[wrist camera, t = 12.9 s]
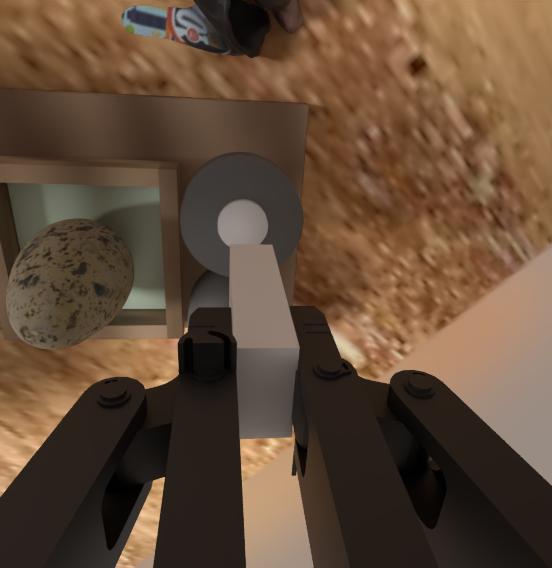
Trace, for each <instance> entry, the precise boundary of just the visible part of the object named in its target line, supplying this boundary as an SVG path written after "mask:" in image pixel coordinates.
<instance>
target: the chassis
mask: <svg viewBox="0 0 552 568" xmlns="http://www.w3.org/2000/svg"><path fill="white" fill-rule="evenodd" d="M308 110H309V105H308V104H306V103H291V102H271V101H251V100H232V99H212V98H192V97H173V96H153V95H133V94H113V93H94V92H74V91H54V90H35V89H15V88H0V329H2V330H3V334H4V338H5V340H22V339H21V338H20V337H19V336H18V335H17V334H16V333H15V331H14V330H13V328H12V326H11V324H10V321H9V318H8V314H7V308H6V294H7V285H8V280H9V277H10V273H11V270H12V267H13V265H14V263H15V260H16V258H17V257H18V255H19V253H20V252H21V250H22V249H23V247H24V246H25V245H26V243H27V242H28V241H29V240H30V239H31V238H32V237H33V236H34V235H35V234H36V233H38V232H39V231H40V230H42V229H43V228H45V227H47V226H49V225H51V224H53V223H55V222H58V221H62V220H67V219H77V218H81V219H89V220H93V221H97V222H99V223H102V224H104V225H106V226H108V227H109V228H111V229H112V230H114V231H115V232H116V233H117V234H118V235H119V236H120V237H121V238H122V239H123V240H124V242H125V243H126V244H127V246H128V248H129V250H130V252H131V255H132V258H133V262H134V281H133V286H132V289H131V292H130V295H129V297H128V299H127V301H126V303H125V304H124V306H123V308H122V309H121V310H120V312H119V313H118V314H117V315H116V316H115V318H114V319H113V320H112V321H111V322H110V323H109V324H107V325H106V326H105V327H104V328H103V329H101V330H100V331H99V332H97V333H96V334H94V335H93V336H91V337H89V338H88V339H169V338H181V337H182V336H183V335H184V328H185V327H188V326H189V318H190V315H191V314H192V313H193V312H194V311H195V310H196V309H197V308H198V307H229V277H226V276H223V275H220V274H217V273H215V272H213V271H211V270H209V269H208V268H206V267H205V266H203V265H202V264H201V263H199V262H198V261H197V259H196V258H195V257H194V256H193V255H192V254H191V252H190V251H189V249H188V247H187V246H186V244H185V241H184V239H183V236H182V232H181V226H180V212H181V206H182V203H183V199H184V195H185V192H186V189H187V186H188V184H189V182H190V180H191V178H192V177H193V175H194V174H195V173H196V172H197V170H198V169H199V168H200V167H201V166H203V165H204V164H205V163H206V162H208V161H209V160H211V159H213V158H215V157H217V156H219V155H223V154H226V153H231V152H249V153H254V154H258V155H260V156H263V157H265V158H267V159H269V160H271V161H272V162H274V163H275V164H276V165H278V166H279V167H280V168H281V169H282V170H283V171H284V173H285V174H286V175H287V177H288V178H289V180H290V182H291V183H292V185H293V187H294V189H295V191H296V193H297V194H298V197H299V199H300V202H301V197H302V185H303V172H304V160H305V147H306V135H307V123H308ZM297 247H298V244H297V246H296V248H295V249H294V251H293V252H292V254H291V255H290V256H289V257H288V259H287V260H285V261H284V262H283V263H282V264H281V265H280V266H278V268H279V272H280V275H281V279H282V283H283V287H284V291H285V294H286V298H287V302H288V306H293V296H294V284H295V272H296V259H297Z"/></svg>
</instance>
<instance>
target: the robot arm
mask: <svg viewBox="0 0 552 568" xmlns="http://www.w3.org/2000/svg"><path fill="white" fill-rule="evenodd" d="M178 362H179V375H178V376H177V377H176V378H174V379H173V380H172V381H170V382H168V383H166V384H163V385H160V386H157V387H153V388H149V389H145V388H144V385H143V384H141V383H140V382H139V381H138V380H136V379H132V378H128V377H113V378H108V379H104V380H101V381H99V382H97V383H95V384H93V385H92V386H90V387H89V388H88V389H87V390H86V391H85V392H84V393H83V394H82V395H81V397H80V398H79V399H78V400H77V402H76V403H75V404H74V405H73V407H72V408H71V409H70V410H69V412H68V413H67V414H66V415H65V417H64V418H63V419H62V421H61V422H60V423H59V424H58V426H57V427H56V428H55V429H54V431H53V432H52V433H51V434H50V436H49V437H48V438H47V439H46V441H45V442H44V443H43V444H42V446H41V447H40V448H39V449H38V451H37V452H36V453H35V454H34V456H33V457H32V458H31V459H30V461H29V462H28V463H27V464H26V466H25V467H24V468H23V469H22V471H21V472H20V473H19V474H18V476H17V477H16V478H15V480H14V481H13V482H12V483H11V485H10V486H9V487H8V488H7V490H6V491H5V492H4V493H3V495H2V496H1V497H0V568H115V566H116V564H117V562H118V560H119V557H120V555H121V553H122V551H123V549H124V546H125V544H126V542H127V540H128V538H129V536H130V533H131V531H132V529H133V527H134V525H135V522H136V520H137V518H138V516H139V514H140V511H141V509H142V507H143V505H144V503H145V501H146V498H147V496H148V494H149V492H150V490H151V487H152V482H153V480H156V479H159V478H162V477H165V482H164V490H163V497H162V505H161V512H160V520H159V527H158V535H157V542H156V550H155V557H154V565H153V568H246V559H245V539H244V517H243V497H242V476H241V455H240V439H254V438H283V437H291V436H292V425H293V427H294V432H295V445H294V455H293V465H292V476H294V475H296V472H297V473H298V480H299V485H300V491H301V497H302V503H303V508H304V514H305V519H306V525H307V531H308V537H309V542H310V548H311V554H312V560H313V565H314V568H552V486H551V485H550V484H549V483H548V482H547V481H546V480H545V479H544V478H543V477H542V476H541V475H540V474H539V473H538V472H537V471H536V470H534V469H533V468H532V467H531V466H530V465H529V464H528V463H527V462H526V461H525V460H524V459H523V458H522V457H521V456H520V455H519V454H518V453H516V452H515V451H514V450H513V449H512V448H511V447H510V446H509V445H508V444H507V443H506V442H505V441H504V440H503V439H502V438H501V437H500V436H499V435H498V434H496V432H495V431H493V430H492V429H491V428H490V427H489V426H488V425H487V424H486V423H485V422H484V421H483V420H482V419H481V418H480V417H479V416H478V415H476V414H475V412H473V411H472V410H471V409H470V408H469V407H468V406H467V405H466V404H465V403H464V402H463V401H462V400H461V399H460V398H459V397H458V396H457V395H456V394H455V393H453V392H452V391H451V390H450V389H449V388H448V387H447V386H446V385H445V384H444V383H443V382H442V381H440V380H439V379H437V378H436V377H435V376H432V375H430V374H427V373H425V372H421V371H415V370H403V371H400V372H398V373H395V374H394V375H393V376H392V378H391V380H390V384H387V383H381V382H376V381H372V380H368V379H364V378H362V377H360V376H358V374H357V372H356V370H355V368H354V367H353V366H352V364H351V363H349V362H348V361H346V360H345V359H343V358H341V356H340V353H339V351H338V348H337V346H336V343H335V341H334V338H333V336H332V334H331V331H330V328H329V326H328V323H327V321H326V318H325V315H324V314H323V313H322V312H321V311H319V310H318V309H317V308H316V307H315V306H288V302H287V298H286V294H285V291H284V287H283V283H282V279H281V275H280V272H279V268H278V264H277V260H276V257H275V253H274V249H273V245H263V244H230V277H229V307H198V308H197V309H196V310H195V311H194V312H193V313H192V314H191V315H190V318H189V326H188V332H187V333H186V334H185V335H183V336H182V337H181V338H180V340H179V342H178Z"/></svg>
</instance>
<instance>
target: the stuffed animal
mask: <svg viewBox="0 0 552 568" xmlns="http://www.w3.org/2000/svg"><path fill="white" fill-rule="evenodd" d="M254 1H255V2H256V3H257V4H259V5H261V6H262V7H264V8H265V9H267V10H269V9H272V10H273V13H274V16H275V18H276V20H277V21H278V23H279V24H280V25H281V26H282V27H283V28H284V29H286V30H287V31H288V32H290V33H293V32H295V31H296V30H297V29H299V28H300V27H301V26H302V24H303V18H302V14H301V11H300V7H299V0H254ZM194 2H195V3H196V4H195V5H194V6H192V7H190V8H173V7H155V6H133V7H130V8H128V9H127V10H125V11H124V13H123V15H122V23H123V25H124V27H125V28H126V30H127V31H128V32H130V33H132V34H136V35H144V36H152V37H158V38H167V39H170V40H174V41H177V42H180V43H183V44H186V45H189V46H192V47H195V48H198V49H202V50H205V51H209V52H213V53H218V54H224V55H232V56H241V55H245V54H246V55H247V56H248V57H250V58H254V57H257V56H258V55H259V52H260V48H261V46H262V44H263V42H264V38H265V35H266V34H267V33H268V31H269V30H270V27H271V20H270V17H269V14H268V13H267V11H265V10H264V9H262V8H261V7H259V6H257V5H254V4H249V3H246V2H244V1H243V0H194Z"/></svg>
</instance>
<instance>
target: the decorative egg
mask: <svg viewBox="0 0 552 568" xmlns="http://www.w3.org/2000/svg"><path fill="white" fill-rule="evenodd" d="M133 281H134V262H133V258H132V255H131V252H130V250H129V248H128V246H127V244H126V243H125V242H124V240H123V239H122V238H121V237H120V236H119V235H118V234H117V233H116V232H115V231H114V230H112V229H111V228H109V227H108V226H106V225H104V224H102V223H99V222H97V221H93V220H89V219H81V218H77V219H67V220H62V221H58V222H55V223H53V224H51V225H49V226H47V227H45V228H43V229H42V230H40V231H39V232H38V233H36V234H35V235H34V236H33V237H32V238H31V239H30V240H29V241H28V242H27V243H26V245H25V246H24V247H23V249H22V250H21V252H20V253H19V255H18V257H17V258H16V260H15V263H14V265H13V267H12V270H11V273H10V277H9V280H8V285H7V294H6V308H7V314H8V318H9V321H10V324H11V326H12V328H13V330H14V331H15V333H16V334H17V335H18V336H19V337H20V338H21V339H22V340H23V341H24V342H26V343H27V344H29V345H31V346H33V347H37V348H40V349H60V348H65V347H69V346H73V345H75V344H78V343H80V342H82V341H84V340H86V339H88V338H89V337H91V336H93V335H94V334H96V333H97V332H99V331H100V330H101V329H103V328H104V327H105V326H106V325H107V324H109V323H110V322H111V321H112V320H113V319H114V318H115V316H116V315H117V314H118V313H119V312H120V310H121V309H122V308H123V306H124V304H125V303H126V301H127V299H128V297H129V295H130V292H131V289H132V286H133Z"/></svg>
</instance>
